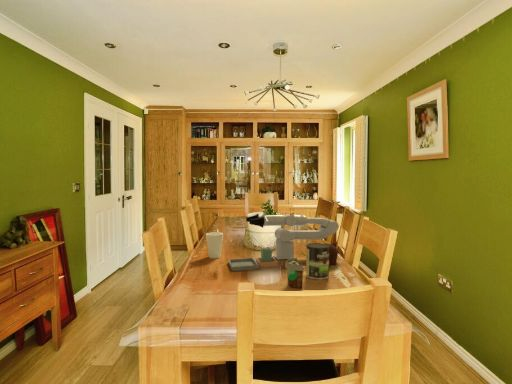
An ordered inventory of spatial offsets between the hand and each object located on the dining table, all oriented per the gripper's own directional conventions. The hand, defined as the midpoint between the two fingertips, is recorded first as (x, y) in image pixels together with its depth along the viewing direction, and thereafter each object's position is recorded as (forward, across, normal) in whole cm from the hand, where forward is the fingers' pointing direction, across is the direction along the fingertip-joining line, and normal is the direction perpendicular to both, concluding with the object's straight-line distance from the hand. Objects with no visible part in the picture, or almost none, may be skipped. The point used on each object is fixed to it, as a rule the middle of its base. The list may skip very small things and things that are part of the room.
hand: (247, 220), depth 178 cm
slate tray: (+4, +11, +21) cm, 24 cm away
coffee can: (-25, +35, +20) cm, 47 cm away
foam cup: (+16, -10, +22) cm, 29 cm away
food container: (-10, +43, +20) cm, 49 cm away
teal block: (-8, +11, +21) cm, 25 cm away
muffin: (-38, +17, +20) cm, 47 cm away
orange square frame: (-8, +11, +21) cm, 25 cm away
